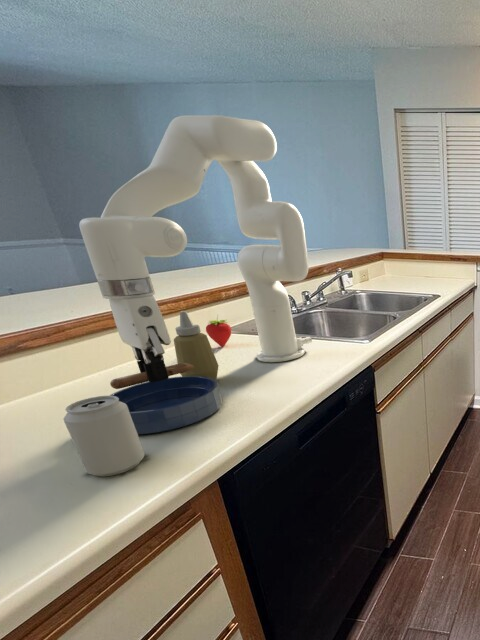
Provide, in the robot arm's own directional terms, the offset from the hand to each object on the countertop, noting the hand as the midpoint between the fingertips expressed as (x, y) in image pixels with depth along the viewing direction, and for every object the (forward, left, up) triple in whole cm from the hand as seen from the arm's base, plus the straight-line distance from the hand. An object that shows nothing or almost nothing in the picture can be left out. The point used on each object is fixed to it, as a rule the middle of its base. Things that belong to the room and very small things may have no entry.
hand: (155, 378), depth 86 cm
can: (+14, +15, -9) cm, 22 cm away
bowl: (0, 0, -8) cm, 8 cm away
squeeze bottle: (-13, -13, -9) cm, 21 cm away
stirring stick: (0, 0, 0) cm, 0 cm away
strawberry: (-32, -40, -9) cm, 52 cm away
